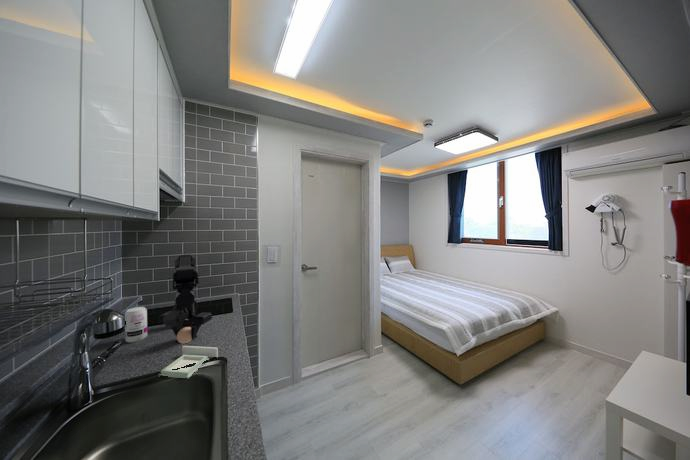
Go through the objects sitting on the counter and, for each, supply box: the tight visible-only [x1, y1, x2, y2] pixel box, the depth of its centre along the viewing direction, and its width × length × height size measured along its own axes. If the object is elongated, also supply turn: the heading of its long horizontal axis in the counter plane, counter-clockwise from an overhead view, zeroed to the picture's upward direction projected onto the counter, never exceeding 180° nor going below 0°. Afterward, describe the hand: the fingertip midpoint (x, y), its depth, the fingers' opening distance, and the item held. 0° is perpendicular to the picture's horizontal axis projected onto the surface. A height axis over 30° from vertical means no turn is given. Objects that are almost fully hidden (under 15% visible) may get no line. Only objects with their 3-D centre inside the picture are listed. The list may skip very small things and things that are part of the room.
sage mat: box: [158, 354, 211, 379], centre depth 93 cm, size 12×12×2 cm
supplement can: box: [124, 306, 148, 343], centre depth 115 cm, size 8×8×15 cm
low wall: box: [181, 345, 219, 358], centre depth 101 cm, size 16×1×4 cm, turn 85°
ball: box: [176, 327, 192, 344], centre depth 92 cm, size 6×6×6 cm
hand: (185, 338), depth 93 cm, fingers closed on ball, 6 cm apart
